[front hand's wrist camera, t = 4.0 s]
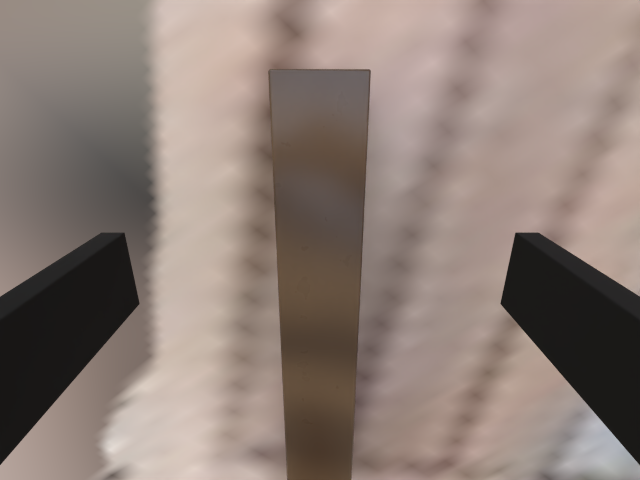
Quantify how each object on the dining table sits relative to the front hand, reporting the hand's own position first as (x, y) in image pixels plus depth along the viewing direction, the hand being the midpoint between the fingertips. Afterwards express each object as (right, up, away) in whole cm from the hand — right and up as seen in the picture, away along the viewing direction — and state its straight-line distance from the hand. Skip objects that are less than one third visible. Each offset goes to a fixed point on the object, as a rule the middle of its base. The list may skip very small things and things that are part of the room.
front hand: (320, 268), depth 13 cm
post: (0, -21, +25) cm, 33 cm away
